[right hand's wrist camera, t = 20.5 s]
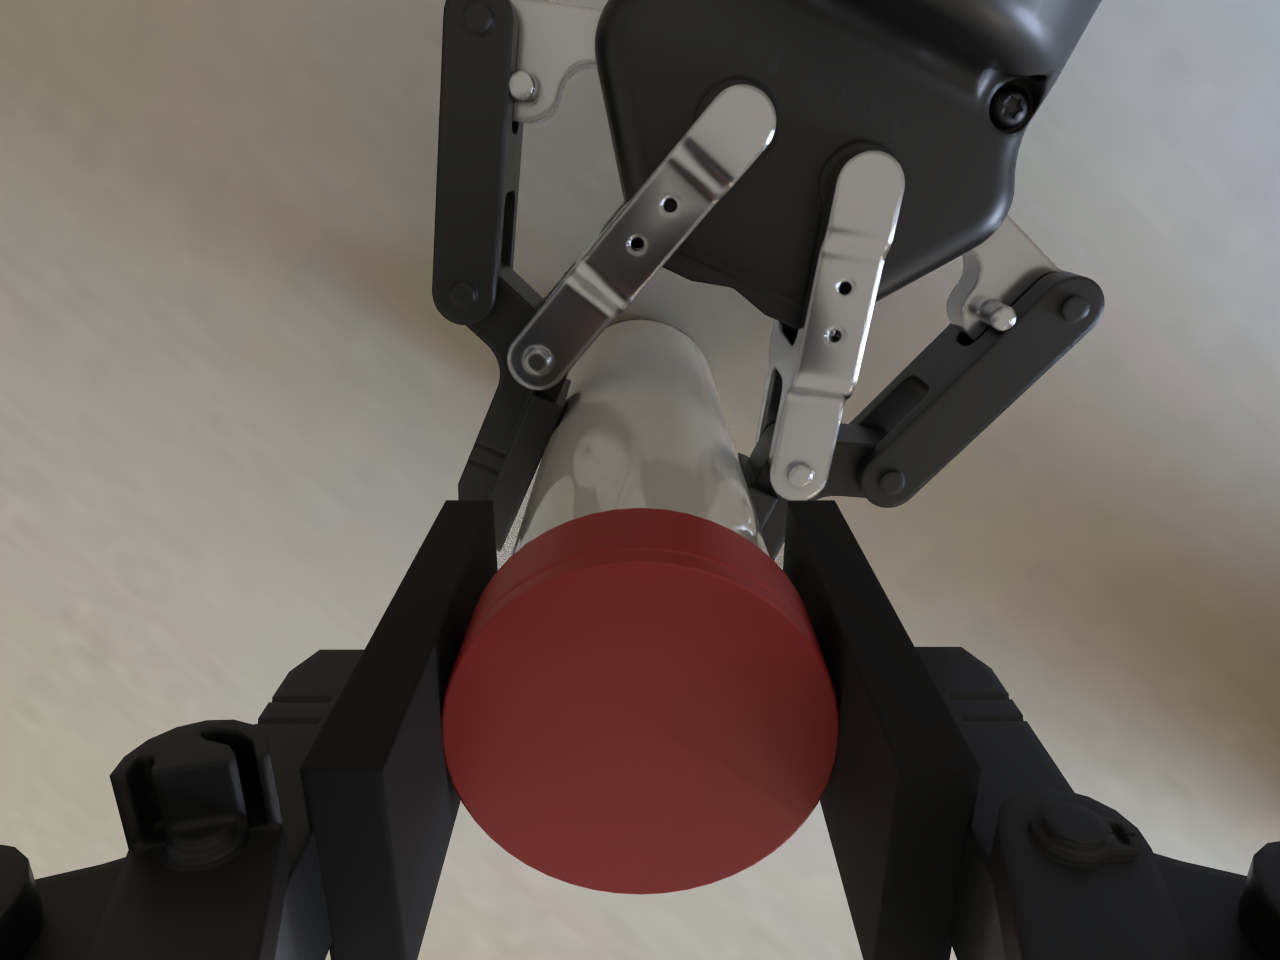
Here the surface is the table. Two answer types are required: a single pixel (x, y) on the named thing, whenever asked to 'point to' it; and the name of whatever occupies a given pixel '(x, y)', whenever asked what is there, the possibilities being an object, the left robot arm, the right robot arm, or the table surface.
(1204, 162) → the table surface
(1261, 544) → the table surface
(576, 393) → the jar
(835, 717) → the lid
